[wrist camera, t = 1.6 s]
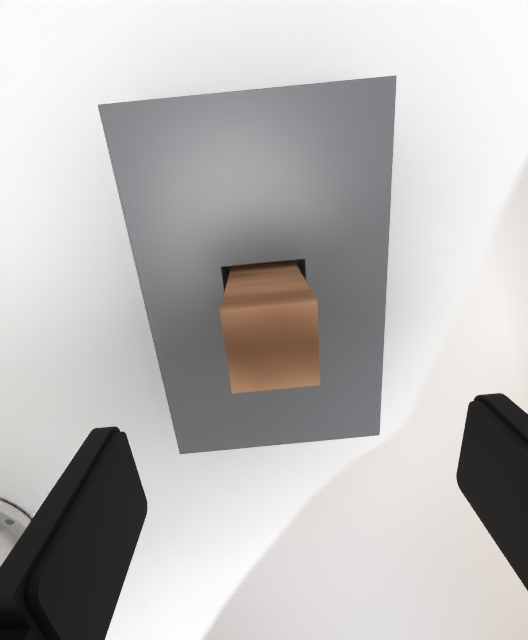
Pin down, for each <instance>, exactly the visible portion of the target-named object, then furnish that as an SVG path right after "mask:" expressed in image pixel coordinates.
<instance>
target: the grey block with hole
mask: <svg viewBox="0 0 528 640" xmlns="http://www.w3.org/2000/svg"><path fill="white" fill-rule="evenodd" d="M395 95H396V76H387V77H377V78H367V79H357V80H346V81H336V82H326V83H316V84H305V85H295V86H285V87H275V88H265V89H254V90H244V91H234V92H224V93H214V94H203V95H193V96H183V97H173V98H162V99H152V100H142V101H132V102H122V103H111V104H101V105H98V108H99V112H100V116H101V120H102V125H103V129H104V133H105V137H106V142H107V146H108V150H109V154H110V159H111V163H112V167H113V171H114V176H115V180H116V184H117V188H118V193H119V197H120V201H121V205H122V209H123V214H124V218H125V222H126V226H127V231H128V235H129V239H130V243H131V248H132V252H133V256H134V260H135V265H136V269H137V273H138V277H139V282H140V286H141V290H142V294H143V299H144V303H145V307H146V311H147V316H148V320H149V324H150V328H151V333H152V337H153V341H154V345H155V350H156V354H157V358H158V362H159V367H160V371H161V375H162V379H163V384H164V388H165V392H166V396H167V401H168V405H169V409H170V413H171V418H172V422H173V426H174V430H175V435H176V439H177V443H178V447H179V452H180V454H186V453H196V452H207V451H217V450H228V449H238V448H249V447H259V446H270V445H280V444H291V443H301V442H312V441H322V440H333V439H343V438H354V437H364V436H375V435H379V432H380V411H381V390H382V369H383V348H384V327H385V306H386V285H387V264H388V243H389V222H390V201H391V179H392V158H393V137H394V116H395ZM285 260H295V263H296V265H297V267H298V268H299V270H300V272H301V274H302V275H303V277H304V279H305V281H306V282H307V284H308V286H309V287H310V289H311V291H312V293H313V294H314V296H315V298H316V299H317V301H318V332H319V363H320V385H317V386H307V387H296V388H286V389H275V390H265V391H254V392H244V393H234V394H232V392H231V385H230V378H229V371H228V365H227V358H226V351H225V345H224V338H223V331H222V324H221V318H220V311H219V310H220V307H221V303H222V299H223V296H224V292H225V288H226V285H227V281H228V277H229V273H230V268H229V266H234V265H244V264H254V263H265V262H275V261H285Z"/></svg>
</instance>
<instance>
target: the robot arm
mask: <svg viewBox="0 0 528 640" xmlns="http://www.w3.org/2000/svg"><path fill="white" fill-rule="evenodd" d="M457 482H458V486H459V488H460V490H461V491H462V493H463V494H464V496H465V497H466V499H467V500H468V502H469V503H470V505H471V506H472V508H473V509H474V511H475V512H476V514H477V515H478V517H479V518H480V520H481V521H482V523H483V524H484V526H485V527H486V529H487V530H488V532H489V533H490V535H491V536H492V538H493V539H494V541H495V542H496V544H497V545H498V547H499V548H500V550H501V551H502V553H503V554H504V556H505V557H506V559H507V560H508V562H509V563H510V565H511V566H512V568H513V569H514V571H515V572H516V574H517V575H518V577H519V578H520V580H521V581H522V583H523V584H524V586H525V587H526V589H527V590H528V414H527V413H525V412H524V411H523V410H522V409H521V408H519V407H518V406H517V405H516V404H515V403H514V402H512V401H511V400H510V399H509V398H508V397H507V396H505V395H503V394H500V393H497V394H486V395H478V396H476V397H475V399H474V401H472V402H470V403H469V406H468V412H467V417H466V423H465V429H464V435H463V440H462V446H461V452H460V458H459V463H458V469H457ZM146 514H147V500H146V497H145V493H144V490H143V487H142V484H141V481H140V477H139V474H138V471H137V468H136V465H135V461H134V458H133V455H132V452H131V449H130V445H129V442H128V439H127V436H126V433H125V432H120V430H119V429H118V428H117V427H105V428H95V429H93V430H92V431H91V432H90V434H89V435H88V437H87V438H86V440H85V441H84V443H83V444H82V446H81V447H80V449H79V450H78V452H77V453H76V455H75V456H74V458H73V459H72V461H71V462H70V464H69V465H68V467H67V468H66V470H65V471H64V473H63V474H62V476H61V477H60V479H59V480H58V481H57V483H56V484H55V486H54V487H53V489H52V490H51V492H50V493H49V495H48V496H47V498H46V499H45V501H44V502H43V504H42V505H41V507H40V508H39V510H38V511H37V513H36V514H35V516H34V517H33V519H32V520H30V519H29V518H28V517H27V516H26V515H25V514H24V513H23V512H21V511H20V510H18V509H17V508H15V507H14V506H12V505H10V504H8V503H5V502H3V501H1V500H0V640H105V637H106V634H107V631H108V628H109V625H110V622H111V619H112V616H113V613H114V610H115V607H116V604H117V601H118V598H119V595H120V592H121V589H122V586H123V583H124V580H125V577H126V574H127V571H128V568H129V565H130V562H131V559H132V556H133V553H134V550H135V547H136V544H137V541H138V538H139V535H140V532H141V529H142V526H143V523H144V521H145V518H146Z"/></svg>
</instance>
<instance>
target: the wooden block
mask: <svg viewBox="0 0 528 640" xmlns="http://www.w3.org/2000/svg"><path fill="white" fill-rule="evenodd" d="M219 311H220V318H221V324H222V331H223V338H224V345H225V351H226V358H227V365H228V371H229V378H230V385H231V392H232V394H234V393H244V392H254V391H265V390H275V389H286V388H296V387H307V386H317V385H320V363H319V332H318V301H317V299H316V298H315V296H314V294H313V293H312V291H311V289H310V287H309V286H308V284H307V282H306V281H305V279H304V277H303V275H302V274H301V272H300V270H299V268H298V267H297V265H296V263H295V262H294V260H285V261H275V262H265V263H254V264H244V265H234V266H231V270H230V273H229V277H228V281H227V285H226V288H225V292H224V296H223V299H222V303H221V307H220V310H219Z"/></svg>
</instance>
